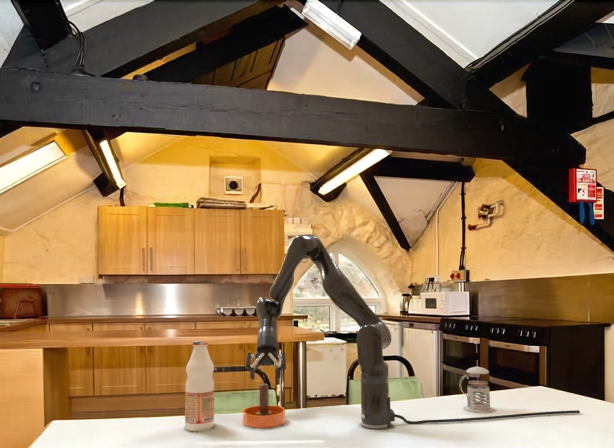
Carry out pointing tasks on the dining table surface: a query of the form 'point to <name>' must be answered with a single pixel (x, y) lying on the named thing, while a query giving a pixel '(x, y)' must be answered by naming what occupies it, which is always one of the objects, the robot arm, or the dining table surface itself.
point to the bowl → (263, 417)
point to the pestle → (263, 400)
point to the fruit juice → (199, 389)
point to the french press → (481, 388)
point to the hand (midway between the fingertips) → (265, 378)
